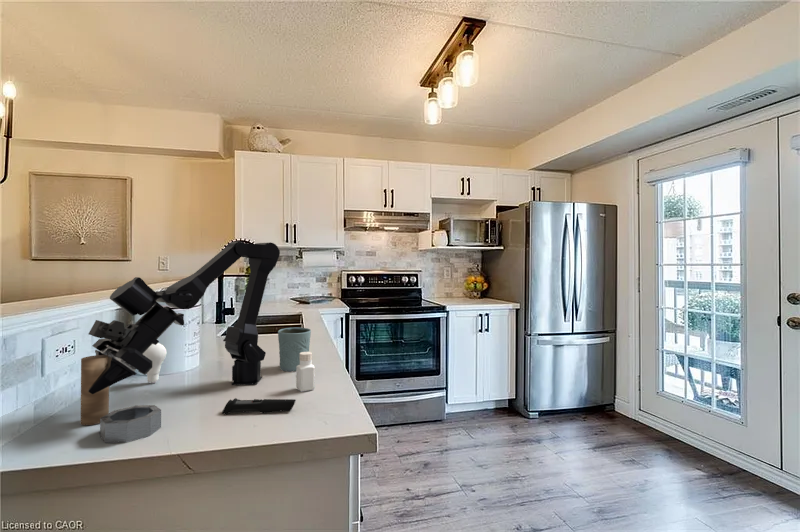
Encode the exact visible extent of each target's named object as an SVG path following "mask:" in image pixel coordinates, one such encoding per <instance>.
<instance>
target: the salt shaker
mask: <svg viewBox="0 0 800 532" xmlns="http://www.w3.org/2000/svg"><path fill="white" fill-rule="evenodd" d="M312 360H313V353H312V351H309V352H301V353H300V360H299V361H300V365H298V366H297V367H296V371H295V372H296V375H295V377H296V380H295V381H296V382H295V383H296V385H295V387H296V389H297V390H298V391H299V392H301V393H303V392H308V391H314V390H315V387H316V380H315V379H316V376H315V375H316V370H315V369H316V367H315V365H314V364H312V363H313V362H312Z"/></svg>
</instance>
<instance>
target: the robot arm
mask: <svg viewBox="0 0 800 532" xmlns="http://www.w3.org/2000/svg"><path fill="white" fill-rule="evenodd" d="M280 255H281V251H280V249H279V247H278V245H277V244H276V243H274V242H272V241H271V242H257V243H250V242H244V241H232V242H228V244H227V245H226V246H225V247H224V248H223V249H222V250H220V251H219V252H218V253H217V254H215V255H214V256H213V257H212V258H211V259H210V260H209V261H207V262H206V263H205V264H203V265H202V266H201V267H200V268H199V269H197V270H196V271H195V272H194V273H192V274H190V275H189V276H186V277H183V278H182V279H180V280H178V281H176V282H174V283H173V284H171V285H169V286H168V287H167V288H166V289H165V290H159V291H158V290H156V291H155V290H154V289H153V288H151V287H150V286H149V285H148V284H147V283H146V282H145V281H144V280H143V279H142V278H141V277H138V276H136V277H133V279H131V280H130V281H127V282H126V283H124V284H123V285H121V286H119V287H117V288H116V289H115V290H114V291H113V292H112V293H111V294H110V296H109V300H111V301H112V302H113V303H115V304H116V305H117V306H118V307H120V308H121V309H123V310H124V311H125V312H126V313H128V314H129V315H130V316H133V317H134V316H136V315H139V316H141V317H140V318H138V320H137V321H136V322H135V323H134V324H133V323H130V324H129V323H128V324H126V325H125V322H122V321H118V320H115V319H114V320H112V321H110V322H105V321H101V320H97V319H95V322H94V323H93V325H92V327H91V328H90V329H89V332H88V335H90V336H92V337H95V338H99V339H98V340H97V341H95V342H94V344H93V345H92V346H91V347H93V348H95V350H94V353H95V355H108V365H107V367H106V369H105V370H104V371H103V372H102V374H101V375H100V376H99V377H98V379H97V380H96V381H95V382H94V384H93V385H92V386H91V388H90V389H89V390H88V392H89V393H91V394H95V393H97V392H99V391H101V390H103V389H105V388H107V387H109V388H110V387H111V386H112V385H115V384H116V383H120V382H121V381H123V380H125V379H128V378H130V377H131V376H132V377H133V376H136V375H137V372H135V371H136V370H137V371H138V373H140V374H141V375H145V376H146V375H147V373H148V372H149V370H150V369H151V368H152V361H151V360H150V359H149V358H147V357H146V356H144V355H143V353H144V352H145V351H146V350H147V349H148V348H149V347H150V346H151V345H152V344H154V345H156V344H157V343H160V341H159V340H158V339H159V338H160V337H161V336H162V335H163V334H164V333H165V332H166V331H167V330H168V329H169V327H170V326H172V325H173V324H175V325H179V326H184V325H185V318H184V317H185V314H184V313H179V312H178V313H177V312H176V311H174V309H179V310H190V309H193V308H194V307H195V306H196V305H197V304H198V302H199V301H201V299H202V298H203V296H204V295H205V293H206V291H207V289H208V287H209V286H211V284H212V283H213V282H214V281H216V279H218V278H219V277H220V276H221V275H222V274H224V273H225V272H226V271H227V270H228V269H229V268H230V267H231V266H233V265H234V264H235V263H237V262H238V261H239V260H240V258H245V259H248V267H249V269H250V271H249V277H248V279H247V284H246V288H245V291H244V295H243V299H242V303H241V307H240V309H239V310H240V311H239V315H238V318H237V321H236V323H235V324H234V325H233V326H227V327H226V333H225V334H226V335H225V337H224V339H223V342H224V348H225V349H226V351H227V352H228V354H229V355H230V357H231V359H233V360H234V361H233V362H234V363H233V365H232V367H231V370H232V371H231V381H232V382H231V386H255V385H257V384H259V382H260V381H261V380H262V379H263V376H261V375H262V374H261V371H262V369H261V367H262V365H261V364H262V363H261V362H262V361H264V360H265V356H266V354H267V353H266V351H265V350H264V349H262V348H261V347H260V346H259V345H258V342H259V333H258V328H257V321H258V317H259V313H260V308H261V305H262V301H263V298H264V293H265V290H266V289H265V288H266V285H267V282H268V278H269V274H270V273H271V272H272V271H273V269H274V268H275V267H276V265H277V263H278V261H279V258H280ZM160 303H164V304H166V306H163V305H161V304H160ZM172 308H173V309H172Z"/></svg>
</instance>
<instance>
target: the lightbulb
mask: <svg viewBox="0 0 800 532" xmlns="http://www.w3.org/2000/svg"><path fill="white" fill-rule="evenodd" d="M143 355H144V356H146V357H147V358H149V359H150V360H151V361H152V368H151V369H150V370H149V372H148V373H147V374H146V375H147V376H146V379H147V382H148V383H150V384H155V383H156V382H158V381H159V378H160V377H159V376H160V372H161V367H162V365H163V362H164V361H165V359H166V357H167V348H166V347H165V346H164V344H162V343H160V342H158V343H157V344H156V345H154V344H152V345H151V346H150V347H149V348H148V349H147V350H146V351H145V352H144V353H143Z"/></svg>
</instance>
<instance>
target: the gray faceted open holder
mask: <svg viewBox="0 0 800 532" xmlns="http://www.w3.org/2000/svg"><path fill="white" fill-rule="evenodd" d="M99 428H100V429H99V438H101V440H102V441H103V442H104V443H105V444H113V443H118V444H119V443H129V442H133V441H136V440H140V439H142V438H146V437H150V436H152V435H153V434H154V433H156V432H157V431H158V430H159V429H161V428H162V409H161V408H160V407H159V406H157V405H155V404H145V405H144V404H140V405H132V406H128V407H123V408H118V409H114V410H112V411H109V414H107V415H105V416H103V417H102V418H100V423H99Z"/></svg>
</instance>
